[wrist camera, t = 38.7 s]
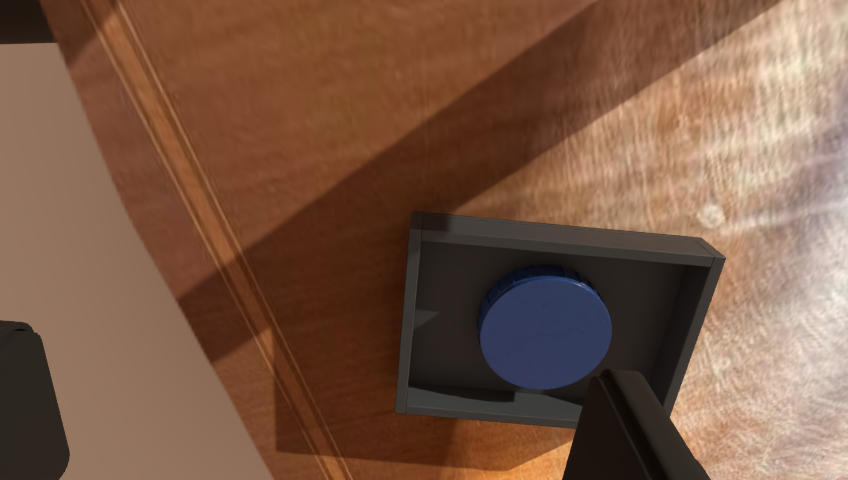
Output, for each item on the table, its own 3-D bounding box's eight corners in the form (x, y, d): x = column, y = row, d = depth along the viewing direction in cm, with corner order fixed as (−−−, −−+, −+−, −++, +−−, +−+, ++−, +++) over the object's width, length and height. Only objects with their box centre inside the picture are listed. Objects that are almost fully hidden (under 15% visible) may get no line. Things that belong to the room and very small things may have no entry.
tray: (398, 384, 30) (394, 413, 28) (412, 211, 26) (409, 228, 24) (646, 406, 30) (663, 437, 28) (701, 237, 26) (726, 257, 24)
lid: (467, 364, 29) (469, 383, 27) (487, 256, 26) (490, 270, 25) (586, 377, 29) (594, 397, 28) (617, 271, 26) (628, 286, 25)
